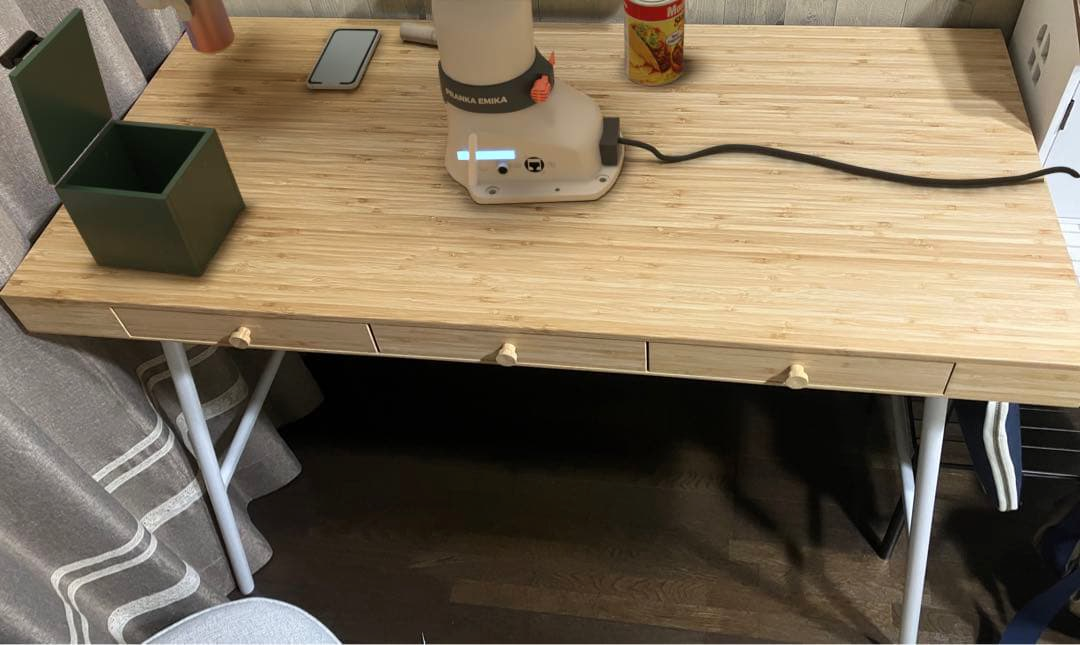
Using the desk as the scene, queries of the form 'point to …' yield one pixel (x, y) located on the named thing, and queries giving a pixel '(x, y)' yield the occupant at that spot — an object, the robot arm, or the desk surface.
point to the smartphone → (344, 58)
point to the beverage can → (209, 27)
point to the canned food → (654, 40)
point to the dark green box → (153, 197)
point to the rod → (418, 33)
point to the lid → (59, 92)
